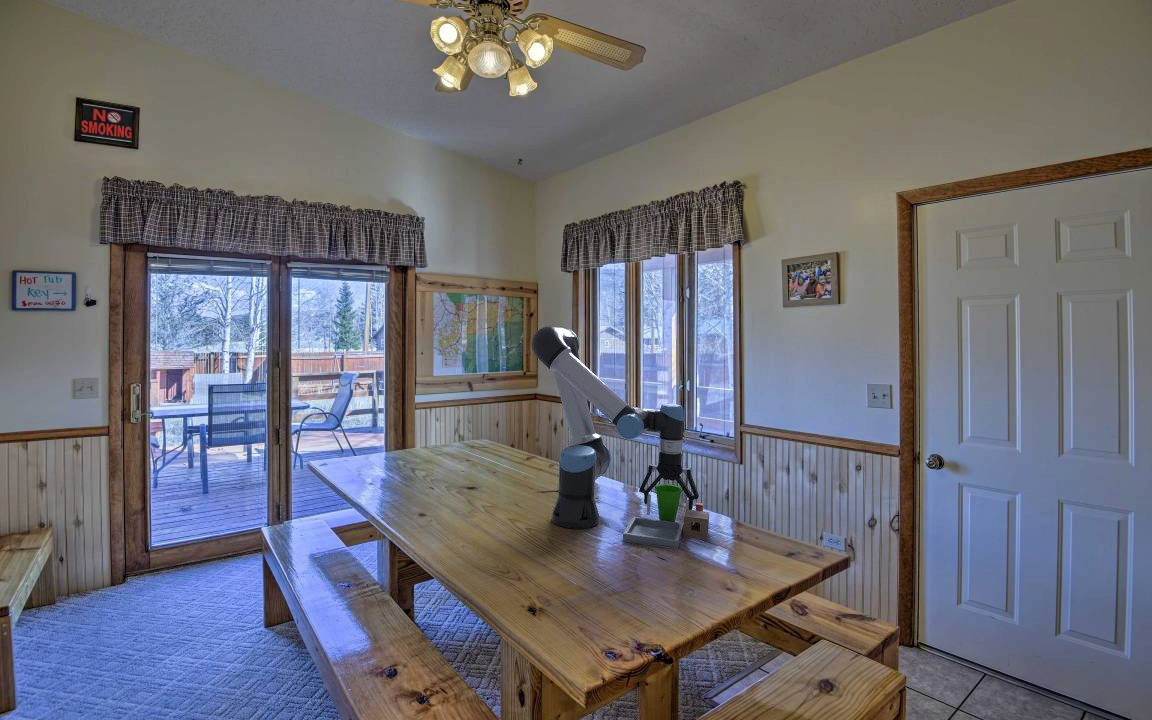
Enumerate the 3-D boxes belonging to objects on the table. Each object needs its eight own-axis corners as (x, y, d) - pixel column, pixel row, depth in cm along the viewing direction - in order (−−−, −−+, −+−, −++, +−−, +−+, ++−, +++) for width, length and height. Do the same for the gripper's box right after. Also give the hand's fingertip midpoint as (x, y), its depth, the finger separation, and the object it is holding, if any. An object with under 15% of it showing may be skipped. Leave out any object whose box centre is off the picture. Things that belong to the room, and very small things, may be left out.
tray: (622, 541, 160) (623, 533, 160) (633, 523, 175) (633, 516, 175) (677, 549, 155) (678, 541, 155) (683, 530, 170) (683, 523, 170)
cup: (681, 527, 173) (682, 493, 173) (652, 524, 175) (654, 490, 175) (681, 517, 182) (682, 485, 182) (654, 515, 184) (655, 483, 183)
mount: (685, 529, 172) (686, 509, 171) (708, 532, 169) (709, 512, 169) (683, 536, 165) (684, 516, 165) (706, 540, 163) (707, 519, 162)
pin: (695, 517, 179) (696, 502, 179) (702, 518, 178) (703, 503, 178) (693, 528, 169) (693, 511, 169) (700, 529, 169) (701, 512, 168)
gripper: (631, 450, 177) (629, 515, 179) (707, 457, 170) (704, 525, 171) (636, 445, 185) (633, 508, 186) (709, 452, 178) (706, 517, 179)
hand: (667, 516), depth 179 cm, fingers open, 12 cm apart
